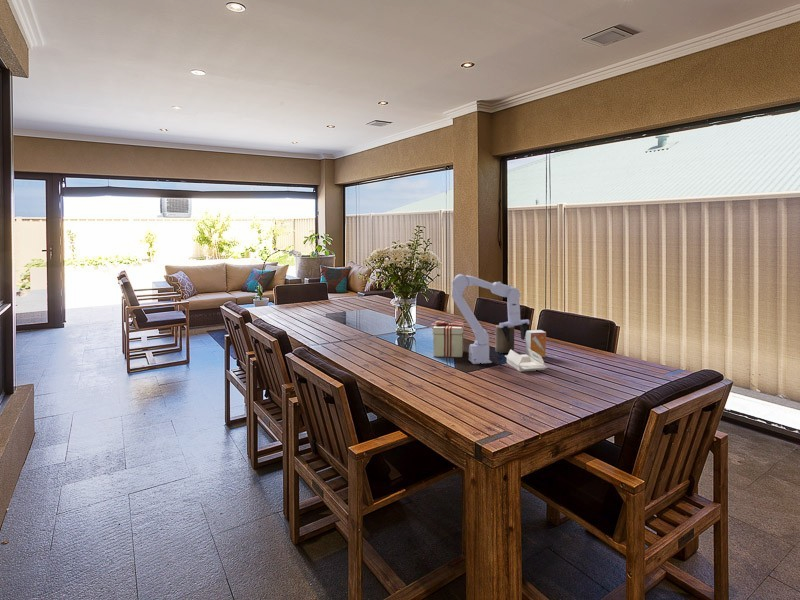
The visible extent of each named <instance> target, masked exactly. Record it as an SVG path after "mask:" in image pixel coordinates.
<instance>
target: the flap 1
mask: <svg viewBox="0 0 800 600" xmlns="http://www.w3.org/2000/svg"><path fill="white" fill-rule="evenodd" d="M507 355H508V356H507V357H506V359H507V358H508V359H509V360H510V361H512V362H513V363H515V364H516V365H518V366H519V365H520V363H521V360H522V358H523V357H522V356H521V355H522V354H519V353H517V352H516V351H515V350H514V351H513V350H511V349H510V351H509V353H508V354H507Z"/></svg>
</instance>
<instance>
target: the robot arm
mask: <svg viewBox="0 0 800 600" xmlns="http://www.w3.org/2000/svg"><path fill="white" fill-rule="evenodd" d="M451 283H452V284H451V287H452V288H451V298H452V300H453V301H454V304H455V305H456V306H457V308H458V309H459V311H460V313H461V314H462V316H463V317H464V319H465V320H466V322H467V324H468V326H469V327H470V329H471V330H472V332H473V335H474V338H475V340H474V341H473V343H470V344H469V346H468V361H470V362H471V364H473V365H477V364H478V365H479V364H480V363H481V364H491V363H493V361H492V360H490V336H489V333H488V331H487V330H486V329H485V328H484V327H483V326H482V325H481V324H480V322H479V320H478V318H476V315H475V314H474V313H473V310H472V309H471V308H470V305H469V304H468V303H467V301H466V300H465V297H464V296H463V295H464V290H465V289H466V288H467V286H468V287H472V286H477V287H480V288H483V289H487V290H490V293H492V294H493V295H496V296H499V297H503V298H507V303H506V305H507V308H506V309H507V321H504V322H499V324H498V325H500V327H501V329H502V331H503V333H504V335H505V338H506V341H507V342H510V337H509V333H510V328H508V327H509V326H514V327H516V326H518V327H519V331H520V340H522V341H524V340H526V331H528V329H529V325H530V319H521V307H520V306H521V305H520V304H521V303H520V297H521V293H520V291H519V289H518V288H516V287H514V286H511V285H510V284H509V285H507V284H504V283H502V281H494V282H489V281H487V280H484V279H481V278H478V277H476V276H472V275H469V274H466V275H465V274H463V273H458V274H456V275H455V276H454V278H453V281H452V282H451ZM481 364H480V365H481Z"/></svg>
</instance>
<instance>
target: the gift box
mask: <svg viewBox="0 0 800 600" xmlns="http://www.w3.org/2000/svg"><path fill="white" fill-rule="evenodd" d="M430 325H431V326H433V327H432V336H433V345H432V346H433V357H436V358H437V357H438V358H439V357H440V358H441V357H442V358H463V353H464V330H465V329H464V327H465V326H464V325H465V322H463V321H459V320H456V321H452V322H447V321H444V320H436V321H434V323H431V324H430Z"/></svg>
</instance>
